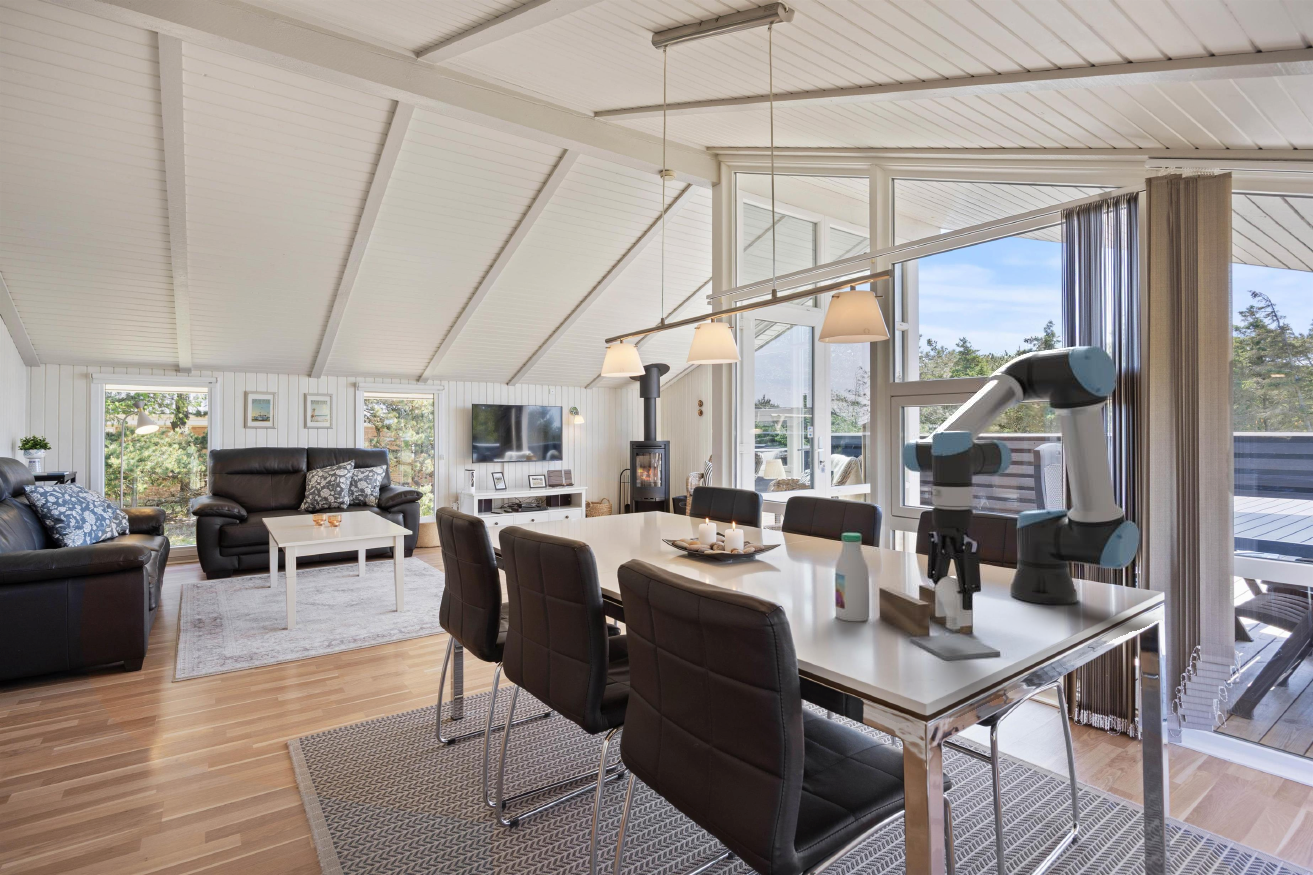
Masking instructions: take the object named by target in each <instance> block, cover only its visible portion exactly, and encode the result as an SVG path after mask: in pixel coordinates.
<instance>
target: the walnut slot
mask: <svg viewBox="0 0 1313 875" xmlns="http://www.w3.org/2000/svg"><path fill="white" fill-rule="evenodd" d="M878 592H879V594H878V596H879V597H878V598H879V603H878V604H879V618H881V619H883V620H884V621H887V622H889V623H890V624H892V625H894V626H896V627H898V628H900V629H903V630H904V631H906V632H909V633H910V634H912V635H914V636H915V637H922V636H931V634H930V632H931V629H930V626H931V625H930V620H931V621H934V622H936V623H938V624H941V625H942V626H944V627H946V616H943V617H937V616H935V585H931V584H919V585H918V598H916V597H914V596H912V595H910V594H907V593H905V592H902V591H899V590H896V589H894V588H893V587H890V586H884V587H879V590H878ZM973 610H974V609H972V626H960V628H959V629H957V630H955V631H956V632H958V633H961V634H963V635H965V634H973V633H974V628H973V627H974V621H973V620H974V617H973V615H974V614H973V613H974V612H973Z"/></svg>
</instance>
